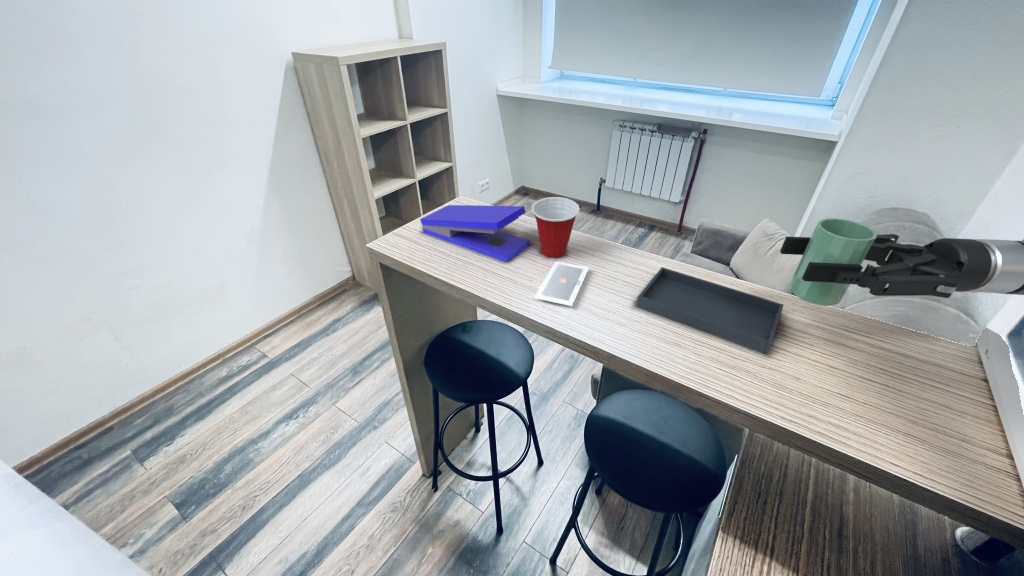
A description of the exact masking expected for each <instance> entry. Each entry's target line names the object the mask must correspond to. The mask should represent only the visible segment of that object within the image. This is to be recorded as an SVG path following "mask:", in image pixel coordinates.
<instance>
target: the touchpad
mask: <svg viewBox="0 0 1024 576" xmlns="http://www.w3.org/2000/svg"><path fill="white" fill-rule="evenodd" d="M589 270H590V267H588V266H583V265H578V264H573V263H567V262H562V261H558V260H557V261H554V263H553V265H552V266H551V268H550V270H549V271H548V273H547V274H546V276H545V278H544V280H542V283H541V285H540V286H539V288H538V290H537V291H536V293H535V295H534V296H533V298H534V299H537V300H541V301H546V302H551V303H556V304H560V305H565V306H568V307H573V304H574V302H575V300H576V297H577V296H578V294H579V292H580V290H581V287H582V285H583V282H584V280H585V278H586V276H587V273H588V272H589Z"/></svg>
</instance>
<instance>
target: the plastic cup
mask: <svg viewBox="0 0 1024 576" xmlns="http://www.w3.org/2000/svg"><path fill="white" fill-rule="evenodd" d="M531 210H532V211H531V212H532V214H533V215H534V218H535V222H536V226H537V232H538V239H539V242H540V243H539V244H540V250H541V253H542V255H543V256H544V257H547V258H552V259H557V258H561V257H563V256H564V255H566V252H567V250H568V245H569V241H570V239H571V235H572V230H573V227H574V223H575V221H576V218H577V216H578V215H579V212H580V211H581V210H580V206H579V204H578V203H577V202H575V200H573V199H570V198H567V197H559V196H550V197H544V198H540V199H539V200H537V201H534V203H533V204H532V206H531Z"/></svg>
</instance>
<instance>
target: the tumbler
mask: <svg viewBox="0 0 1024 576" xmlns="http://www.w3.org/2000/svg"><path fill="white" fill-rule="evenodd" d="M877 234H878V233H877V232H876V231H875V230H874V229H872V228H871V227H869V226H867V225H865V224H863V223H860V222H859V221H854V220H850V219H844V218H835V217H834V218H833V217H830V218H827V217H826V218H823V219H820V220H819V221H818V222H817V223H816V225H815V228H814V230H813V232H812V233H811V236H810V237H811V238H810V241H809V243H808V245H807V247H806V249H805V252H804V254H803V255H801V259H800V260H799V263H798V265H797V267H796V269H795V272H794V273H793V276H792V277H791V281H790V283H789V290H790V292H791V293H792V294H793V295H794V296H795V297H797V298H798V299H800V300H802V301H804V302H807V303H810V304H814V305H816V306H823V307H832V306H836V305H838V304H840V303H841V301H842V299H843V298H844V296H845V294H846V292H847V290H848V289H849V288H850V285H851V284H840V283H831V282H812V281H804V280H803V279H802V277H803V274H804V272H805V270H806V268H807V266H808V264H809V262H818V263H839V264H860V265H861V266H862V264H863V262H864V261H865V260H864V258H865V257H866V255H867V253H868V251H869V250H870V248H871V246H872V244H873V242H874V241H875V239H876V237H877Z"/></svg>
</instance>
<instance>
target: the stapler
mask: <svg viewBox="0 0 1024 576" xmlns="http://www.w3.org/2000/svg"><path fill="white" fill-rule="evenodd" d="M525 214H526V207H525V206H524V205H520V206H519V205H471V204H470V205H469V204H467V205H465V204H463V205H461V204H459V205H458V204H448V205H446V206H444V207H441V208H439V209H438V210H436V211H434V212H432V213H429V214H428V215H426V216H423V217H421V218H420V224H421V226H422V232H423V233H424V234H426V235H430V236H432V237H435V238H438V239H440V240H444V241H447V242H449V243H452V244H455V245H457V246H460V247H463V248H466V249H469V250H472V251H474V252H477V253H481V254H483V255H486V256H489V257H492V258H494V259H497V260H500V261H503V262H505V263H507V262H509V261H510V260H512V259H513V258H514V257H515V256H516V255H518V254H520V253H521V252H522V251H524V250H525V249H526V248H527V247H529V246H530V245H531V240H530V239H528V238H524V237H521V236H517V235H515V234H511V233H508V232H505V231H501V230H502V229H504V228H506V227H507V226H509V225H510V224H512V223H513V222H515V221H516V220H518V219H519V218H520V217H521V216H523V215H525Z"/></svg>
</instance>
